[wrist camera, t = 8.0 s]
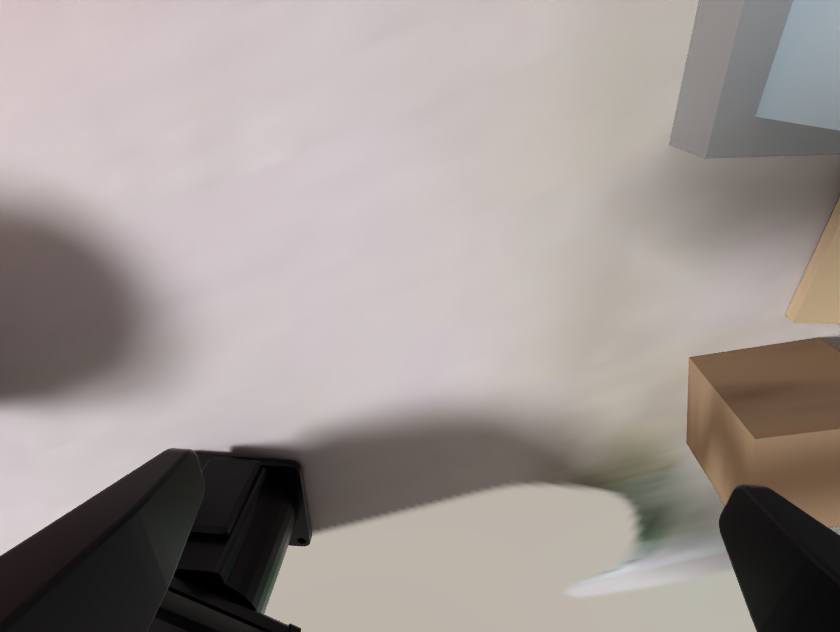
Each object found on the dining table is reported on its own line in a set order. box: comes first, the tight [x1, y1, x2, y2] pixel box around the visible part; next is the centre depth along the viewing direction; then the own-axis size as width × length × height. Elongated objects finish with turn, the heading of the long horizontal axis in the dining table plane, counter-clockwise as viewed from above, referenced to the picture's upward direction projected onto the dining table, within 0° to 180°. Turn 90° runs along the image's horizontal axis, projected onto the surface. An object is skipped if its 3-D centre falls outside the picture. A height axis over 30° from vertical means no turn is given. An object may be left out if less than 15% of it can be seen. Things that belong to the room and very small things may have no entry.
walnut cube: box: [687, 337, 840, 528], centre depth 18 cm, size 5×5×5 cm
